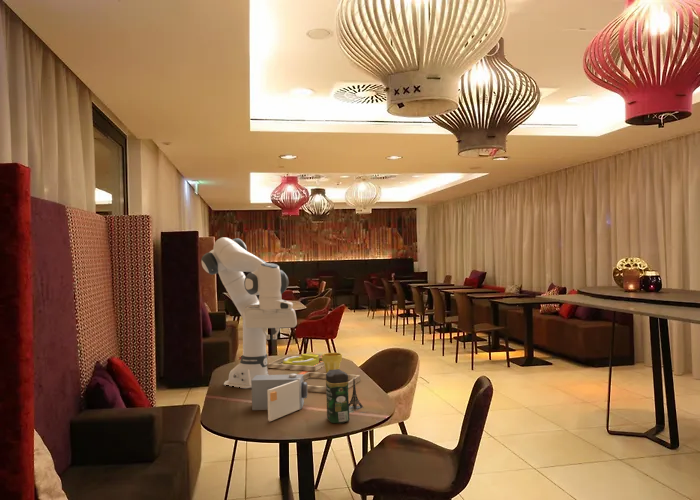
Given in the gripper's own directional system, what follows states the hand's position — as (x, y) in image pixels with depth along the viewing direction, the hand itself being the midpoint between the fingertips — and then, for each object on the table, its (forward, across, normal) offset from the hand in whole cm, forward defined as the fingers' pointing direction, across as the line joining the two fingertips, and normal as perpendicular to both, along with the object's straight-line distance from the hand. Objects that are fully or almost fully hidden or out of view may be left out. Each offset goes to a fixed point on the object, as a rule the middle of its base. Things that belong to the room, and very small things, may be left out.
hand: (271, 339), depth 211 cm
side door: (+29, +6, -4) cm, 30 cm away
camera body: (+29, +2, +9) cm, 31 cm away
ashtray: (+30, +1, +90) cm, 95 cm away
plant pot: (+29, +20, +69) cm, 78 cm away
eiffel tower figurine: (+30, +32, +5) cm, 44 cm away
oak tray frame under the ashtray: (+29, +1, +90) cm, 95 cm away
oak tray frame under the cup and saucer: (+29, +17, +44) cm, 55 cm away
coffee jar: (+29, +26, -11) cm, 41 cm away
